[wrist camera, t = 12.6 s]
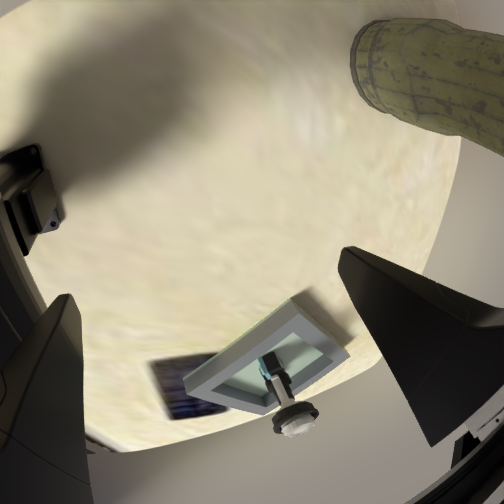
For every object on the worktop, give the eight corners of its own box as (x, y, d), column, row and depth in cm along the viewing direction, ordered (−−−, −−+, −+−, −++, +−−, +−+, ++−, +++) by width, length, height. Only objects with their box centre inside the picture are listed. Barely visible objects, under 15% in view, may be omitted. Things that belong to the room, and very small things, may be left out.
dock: (181, 373, 33) (186, 394, 31) (286, 293, 31) (299, 313, 29) (256, 399, 43) (263, 415, 41) (340, 341, 41) (350, 356, 39)
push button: (295, 366, 38) (326, 426, 31) (260, 383, 38) (287, 445, 31) (282, 343, 34) (318, 413, 26) (242, 363, 34) (271, 435, 26)
